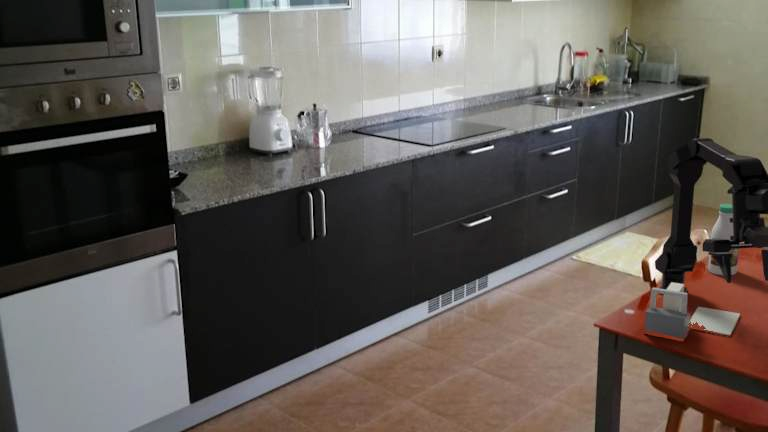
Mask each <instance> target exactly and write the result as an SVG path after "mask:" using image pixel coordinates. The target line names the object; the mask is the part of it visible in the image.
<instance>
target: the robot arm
mask: <svg viewBox="0 0 768 432" xmlns="http://www.w3.org/2000/svg"><path fill="white" fill-rule="evenodd" d="M668 156H669V157H668V159H667V167H668V174H669V176H670V177H671V179H672V181H673V183H674V184H673V185H674V186H673V197H672V198H673V199H672V200H673V201H672V211H671V225H670V234H669V237H668V238H667V240H665V242H664V243H663V246H662V251H661V254H660V255H659V256H658V258H656V259H655V261H654V267H655V269H656V270H657V271H658V272H659V273H661V274H662V275H661V276H662V277H661V286H660V287H659V288H660V289H667V288H668V286H669V285H670V284H671V282H674V283H680V284H684V285H685V278H686V276H685V275H686V273H689V272H690V273H691V272H694V268H695V265H696V262H697V260H698V255H697V254H698V245H696V244H694V243H695V242H694V241H693V240H692V238H691V233H692V232H691V231H692V219H693V206H694V195H695V185H696V184H697V182H698V181H699V180H700V178H701V177H702V176H703V171H704V166H705V165H706V164H711V165H712V166H714V167H715V168H717V169H718V170H719V171H721V172H722V174H721V175H722V177H723V178H724V179H725V180H726V181H727V182H728V183H729V184H730V185H732V186H731V187H730V188H728V189H727V192H726V193H727V194H728V195H729V194H730V195H731V198H732V200H731V201H732V209H733V218H730V223H733V236H730V240H733V241H730V240H729V239H720V238H718V239H711V238H705V239H704V241H703V242H702V252H707V253H708V256H709V255H712V256H713V257H714V259H715V261H716V262H717V264H718V265H719V267H720V269H721V271H722V273H723V275H724V276H723V277H724V279H725V281H726V283H727V284H731V283H732V275H731V262H730V261H731V258H732V255H733V254H732V253H729V251H730V250H731V249H738V248H739V249H751V248H752V249H753V248H754V249H761V259H762V269H763V277H764V280H765V281H766V282H768V226H766V225H765V217H761V215H768V172H767V170H766V168H765V166H764V164H763V162H762V161H761V160H760V159H759V158H757V157H754V156H750V155H740V154H736V153H734V152H733V151H731V150H729V149H728V148H726V147H724V146H722V145H719V144H718V143H717V142H716V141H714V140H713V139H712V138H709V137H704V138H702V137H701V138H699V137H698V138H693V139H691V140H690V141H689V142H688V143H687V144H685V145H682V146H681V147H678V148H677V149H675V150H674V151H672V153H671V154H669V155H668ZM763 248H764V249H763ZM687 290H688V288H687V287H685V286H684V292H685V293H687Z"/></svg>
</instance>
